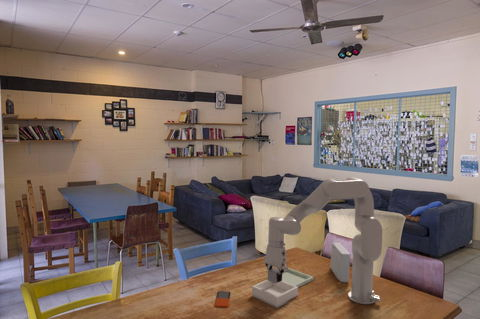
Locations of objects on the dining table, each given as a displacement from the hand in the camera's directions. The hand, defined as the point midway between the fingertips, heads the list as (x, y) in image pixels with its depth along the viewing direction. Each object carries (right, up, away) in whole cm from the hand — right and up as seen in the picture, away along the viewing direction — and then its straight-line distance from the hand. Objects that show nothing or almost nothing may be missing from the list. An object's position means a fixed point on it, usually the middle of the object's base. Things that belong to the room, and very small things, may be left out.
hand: (274, 278), depth 162 cm
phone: (-25, -10, -3) cm, 27 cm away
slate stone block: (0, -1, 0) cm, 1 cm away
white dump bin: (0, -9, +1) cm, 9 cm away
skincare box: (+40, -8, +28) cm, 50 cm away
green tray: (+10, -8, +19) cm, 23 cm away
